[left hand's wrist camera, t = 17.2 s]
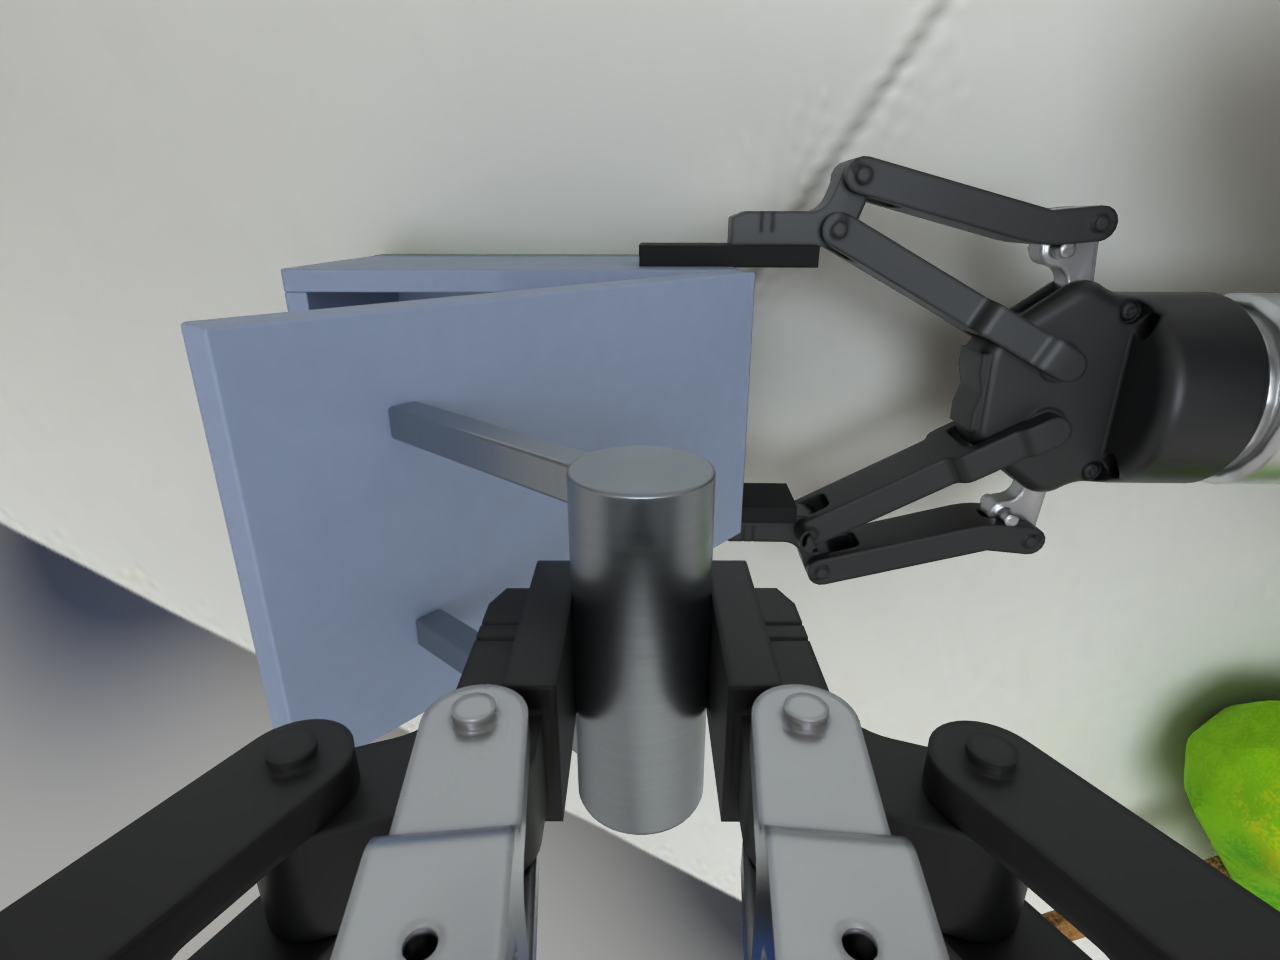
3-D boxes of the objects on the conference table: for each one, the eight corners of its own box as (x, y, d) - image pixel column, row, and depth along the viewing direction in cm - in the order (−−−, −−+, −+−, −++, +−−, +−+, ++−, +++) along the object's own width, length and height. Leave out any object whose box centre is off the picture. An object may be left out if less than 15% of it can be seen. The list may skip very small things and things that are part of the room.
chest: (406, 443, 37) (323, 518, 28) (383, 254, 34) (279, 268, 24) (709, 445, 36) (727, 522, 27) (717, 254, 33) (739, 269, 24)
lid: (278, 756, 15) (544, 1052, 10) (178, 322, 12) (496, 408, 7) (715, 524, 27) (949, 602, 22) (726, 270, 24) (1006, 286, 18)
